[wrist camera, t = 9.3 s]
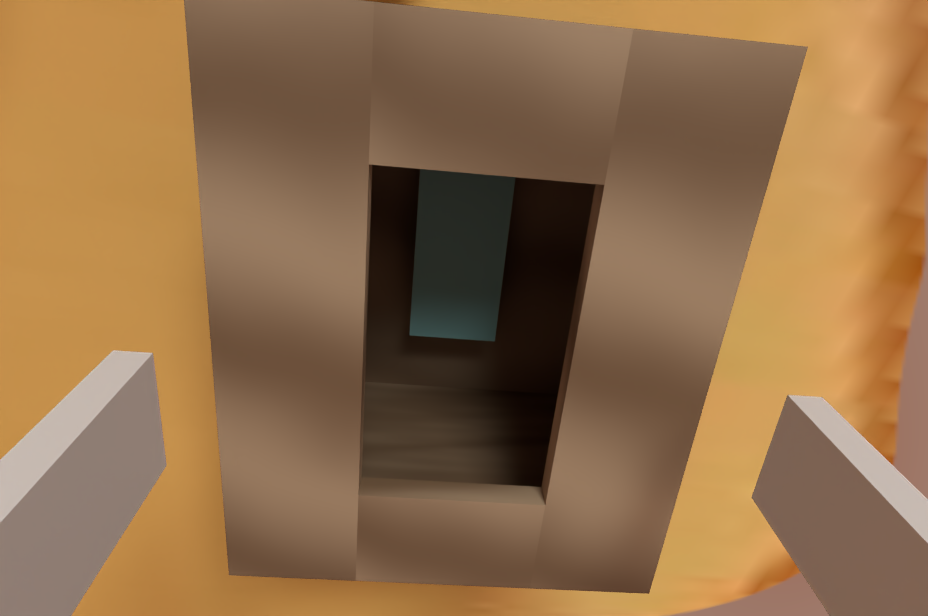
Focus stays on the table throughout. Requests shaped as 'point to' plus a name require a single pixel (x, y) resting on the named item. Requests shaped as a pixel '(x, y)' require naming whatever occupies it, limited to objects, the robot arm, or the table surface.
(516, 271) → the coin box
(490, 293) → the teal rectangular block
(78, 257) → the table surface
